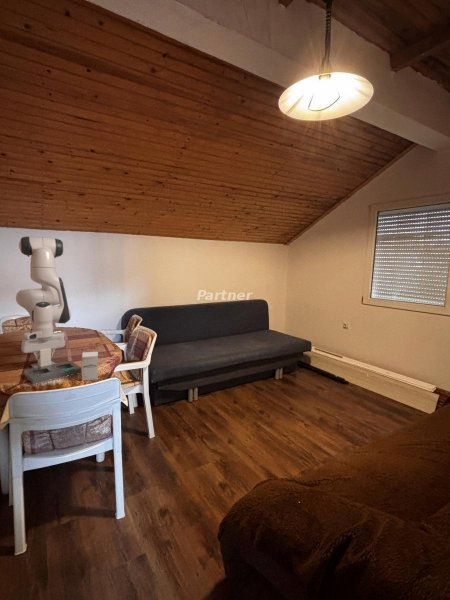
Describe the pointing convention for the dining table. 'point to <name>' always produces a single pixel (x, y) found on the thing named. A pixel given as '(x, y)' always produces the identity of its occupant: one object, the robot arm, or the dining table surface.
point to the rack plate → (51, 371)
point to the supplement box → (89, 366)
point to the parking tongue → (39, 366)
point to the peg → (44, 357)
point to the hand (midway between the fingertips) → (44, 357)
